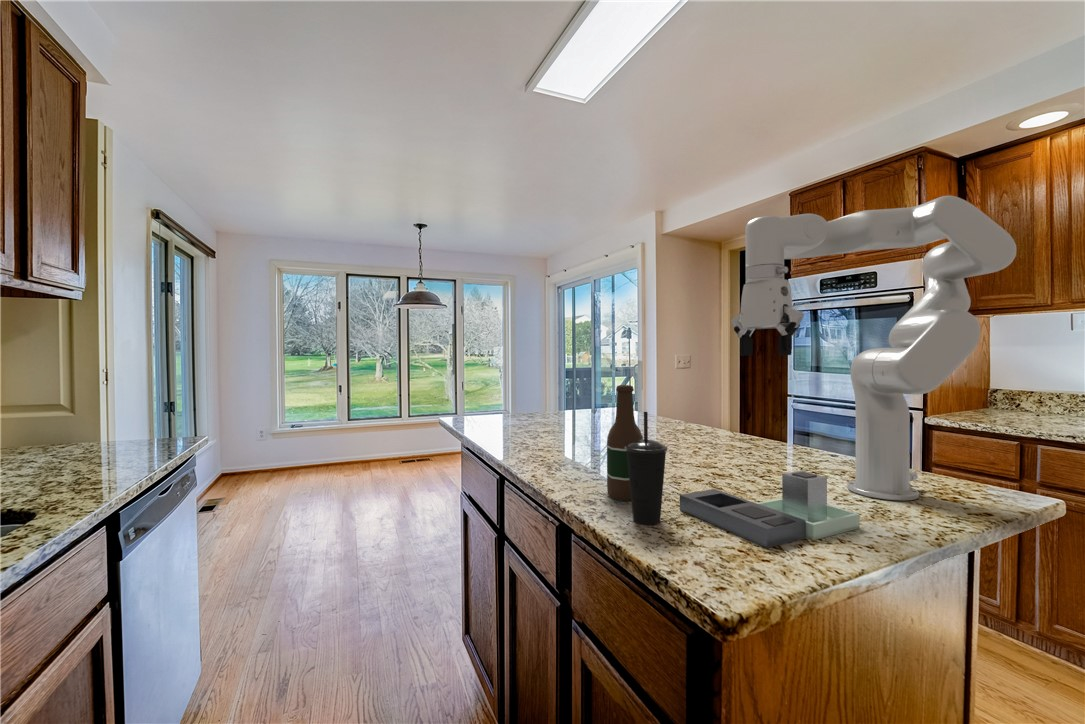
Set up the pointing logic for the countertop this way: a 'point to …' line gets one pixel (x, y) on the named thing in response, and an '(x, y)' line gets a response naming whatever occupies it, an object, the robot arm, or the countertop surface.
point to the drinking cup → (646, 477)
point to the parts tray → (833, 525)
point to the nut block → (804, 496)
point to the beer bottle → (621, 445)
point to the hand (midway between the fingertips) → (764, 355)
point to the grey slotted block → (744, 517)
